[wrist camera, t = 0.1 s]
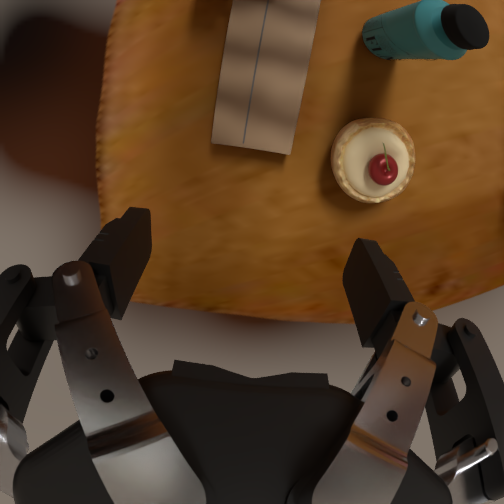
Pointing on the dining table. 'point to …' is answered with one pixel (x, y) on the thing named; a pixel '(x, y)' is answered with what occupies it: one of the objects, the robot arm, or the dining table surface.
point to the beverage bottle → (426, 31)
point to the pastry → (373, 159)
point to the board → (264, 73)
